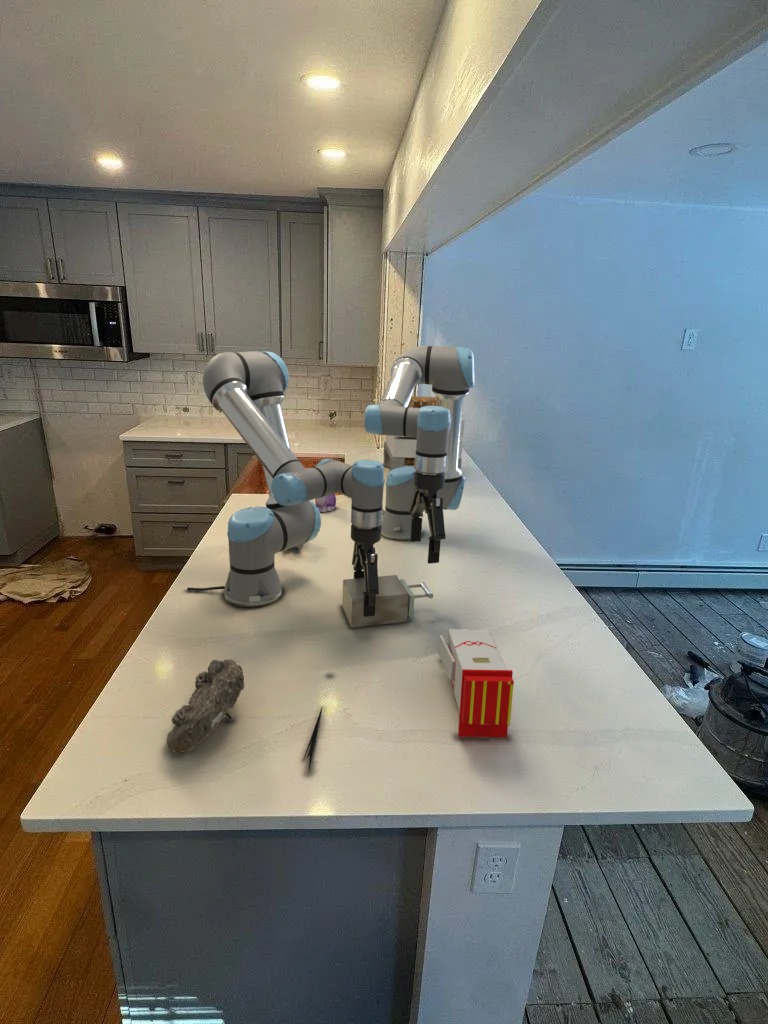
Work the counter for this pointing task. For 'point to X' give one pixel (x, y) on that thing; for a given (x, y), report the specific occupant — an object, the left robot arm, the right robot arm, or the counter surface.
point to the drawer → (412, 596)
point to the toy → (478, 682)
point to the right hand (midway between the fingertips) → (423, 551)
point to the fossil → (206, 705)
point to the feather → (313, 740)
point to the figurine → (326, 503)
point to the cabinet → (387, 605)
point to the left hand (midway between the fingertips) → (363, 604)
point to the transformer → (410, 441)
